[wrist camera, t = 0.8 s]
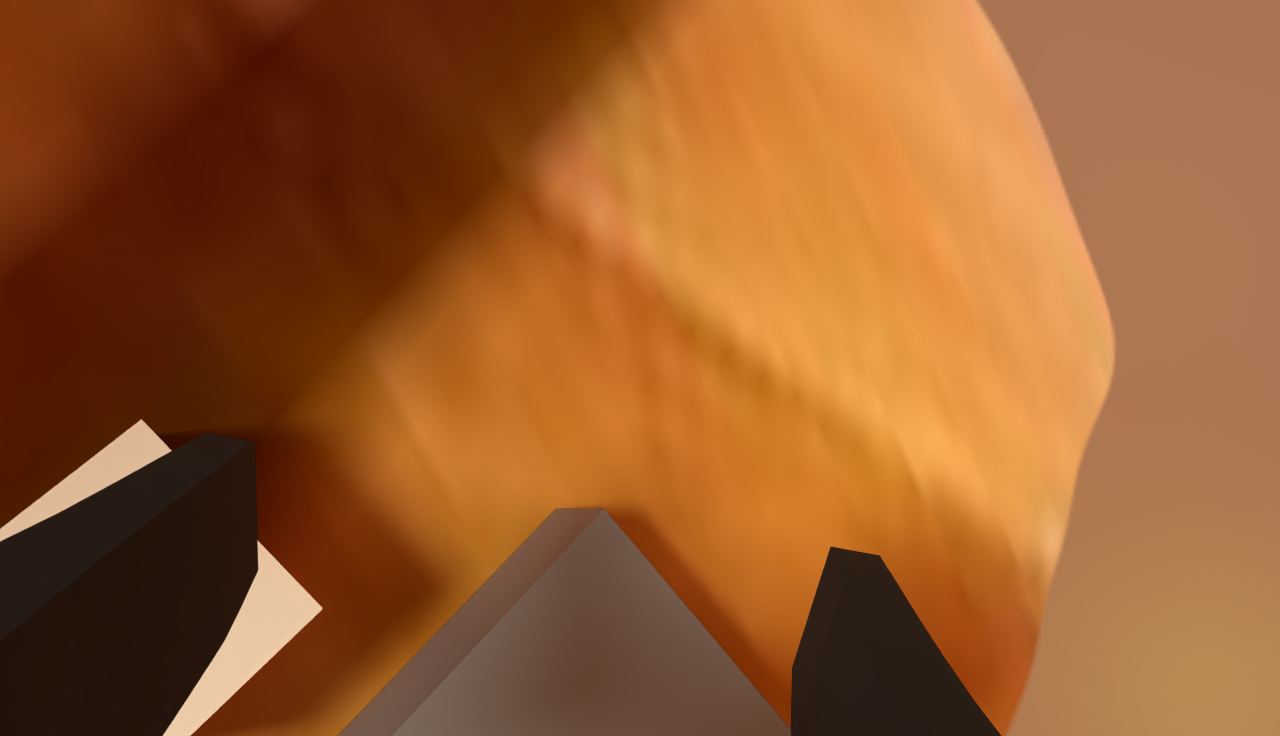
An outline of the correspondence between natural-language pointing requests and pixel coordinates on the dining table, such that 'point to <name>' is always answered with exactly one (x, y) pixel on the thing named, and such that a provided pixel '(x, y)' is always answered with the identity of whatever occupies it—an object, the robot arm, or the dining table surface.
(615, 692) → the plinth
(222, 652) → the cube
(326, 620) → the dining table surface
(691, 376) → the dining table surface
